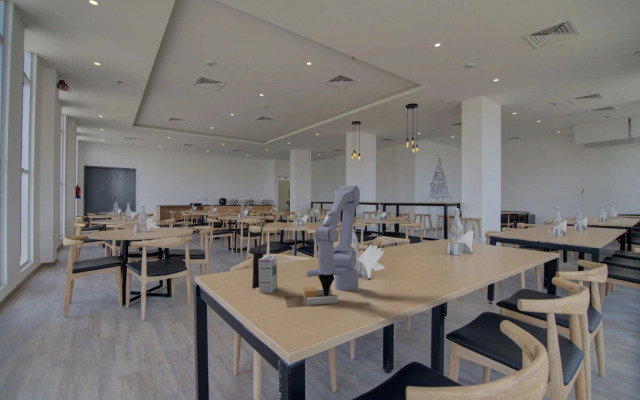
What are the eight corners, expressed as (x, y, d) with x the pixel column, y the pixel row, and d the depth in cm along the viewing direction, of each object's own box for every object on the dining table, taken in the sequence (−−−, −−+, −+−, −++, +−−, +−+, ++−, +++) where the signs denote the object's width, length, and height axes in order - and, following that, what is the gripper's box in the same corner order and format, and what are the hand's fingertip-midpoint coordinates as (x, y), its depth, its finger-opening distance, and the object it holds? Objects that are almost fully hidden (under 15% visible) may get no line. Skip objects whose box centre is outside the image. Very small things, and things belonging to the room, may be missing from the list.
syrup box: (272, 295, 117) (272, 259, 117) (258, 294, 119) (258, 258, 119) (277, 291, 123) (277, 256, 123) (264, 290, 124) (263, 255, 124)
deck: (330, 295, 117) (330, 293, 117) (338, 306, 105) (338, 303, 105) (284, 299, 113) (284, 296, 113) (287, 310, 101) (287, 307, 101)
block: (315, 297, 112) (315, 286, 112) (317, 301, 107) (317, 290, 107) (303, 298, 111) (303, 287, 111) (305, 302, 106) (305, 291, 106)
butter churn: (243, 291, 124) (242, 223, 124) (246, 284, 133) (246, 222, 133) (265, 290, 124) (265, 223, 124) (267, 283, 134) (267, 221, 134)
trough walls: (331, 294, 116) (331, 288, 116) (337, 302, 106) (337, 296, 106) (303, 296, 114) (303, 290, 114) (307, 305, 104) (307, 298, 104)
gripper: (308, 261, 105) (308, 299, 105) (347, 259, 108) (347, 297, 108) (305, 257, 112) (305, 293, 112) (342, 256, 115) (342, 291, 115)
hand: (326, 295), depth 110 cm, fingers closed
